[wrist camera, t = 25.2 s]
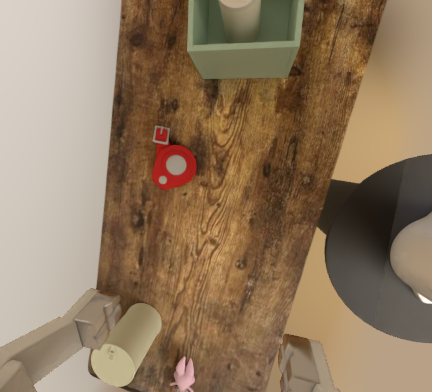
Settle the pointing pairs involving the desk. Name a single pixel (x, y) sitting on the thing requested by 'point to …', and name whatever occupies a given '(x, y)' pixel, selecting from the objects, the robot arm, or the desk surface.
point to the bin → (245, 52)
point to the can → (126, 345)
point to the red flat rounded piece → (171, 162)
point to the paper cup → (241, 20)
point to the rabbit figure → (183, 376)
